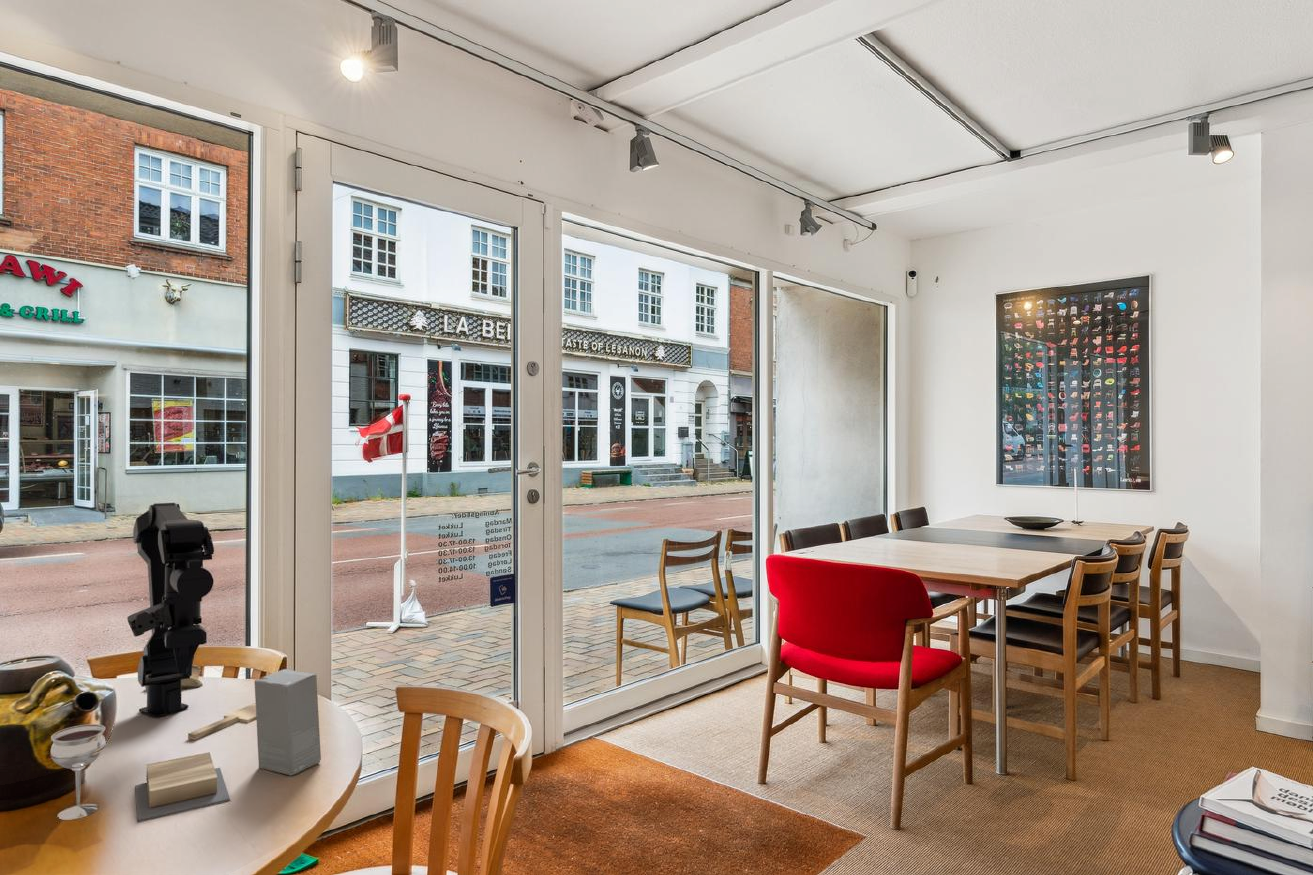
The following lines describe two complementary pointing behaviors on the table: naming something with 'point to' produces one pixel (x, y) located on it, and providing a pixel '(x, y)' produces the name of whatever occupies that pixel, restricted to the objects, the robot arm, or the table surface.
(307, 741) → the skincare box
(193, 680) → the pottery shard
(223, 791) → the felt mat
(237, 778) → the table surface
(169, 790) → the oak tile
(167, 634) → the robot arm
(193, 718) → the table surface
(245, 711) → the wooden spatula
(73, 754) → the wineglass
